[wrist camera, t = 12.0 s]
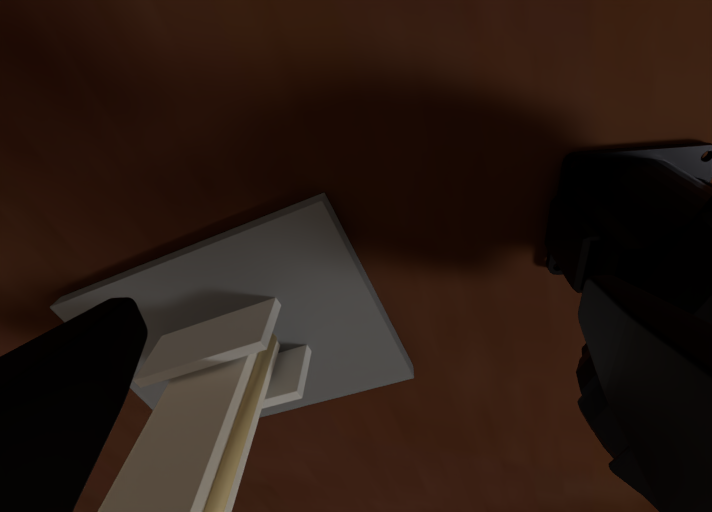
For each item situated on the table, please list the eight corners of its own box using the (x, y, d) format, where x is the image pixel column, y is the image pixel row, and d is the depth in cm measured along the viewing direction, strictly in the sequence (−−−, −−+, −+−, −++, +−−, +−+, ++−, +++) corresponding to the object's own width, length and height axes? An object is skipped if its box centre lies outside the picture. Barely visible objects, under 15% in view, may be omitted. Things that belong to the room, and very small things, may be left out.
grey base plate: (324, 192, 21) (311, 236, 18) (413, 365, 27) (417, 426, 24) (60, 297, 26) (4, 349, 22) (185, 425, 32) (159, 484, 28)
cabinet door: (268, 316, 25) (186, 547, 14) (286, 343, 26) (222, 575, 15) (176, 346, 26) (45, 571, 16) (197, 370, 27) (86, 595, 17)
